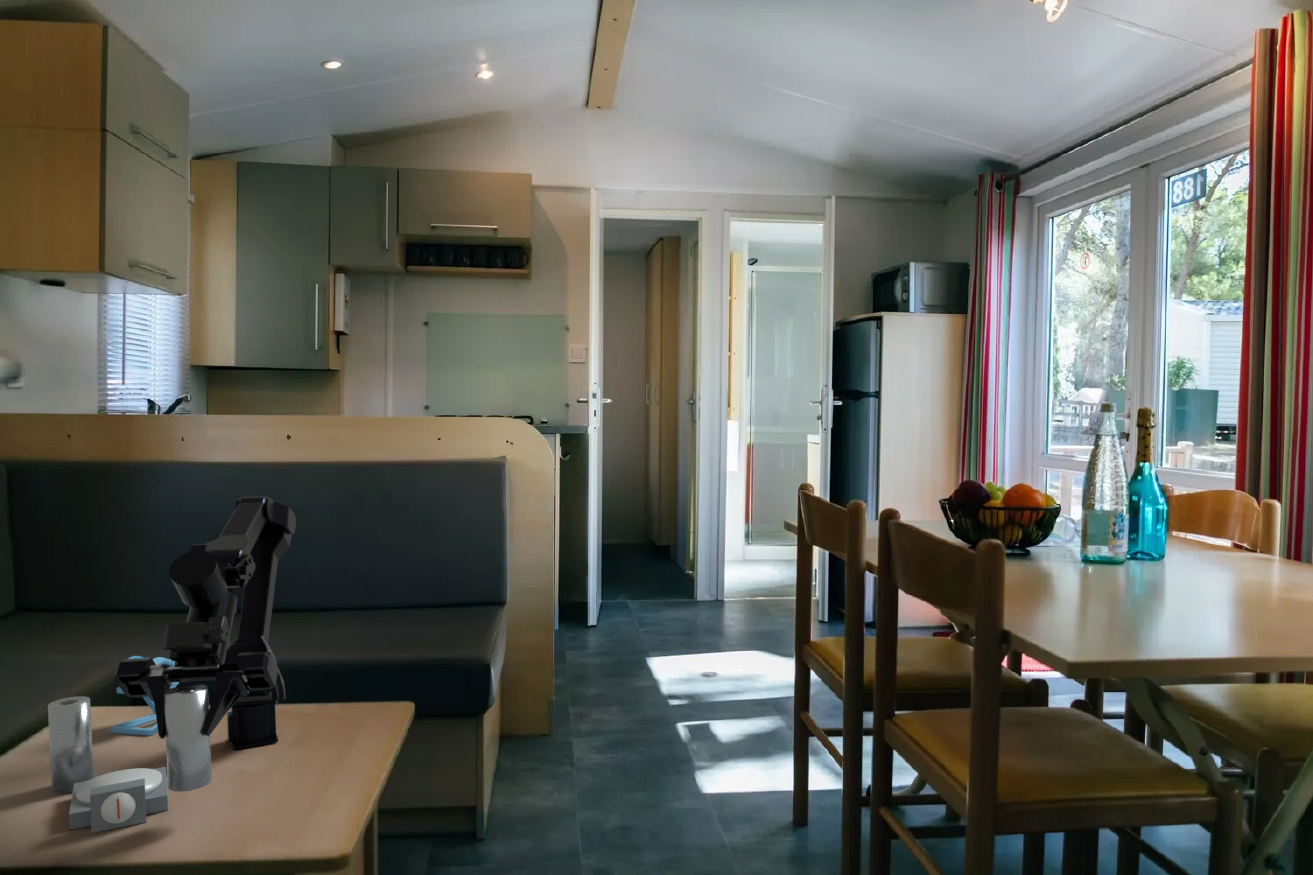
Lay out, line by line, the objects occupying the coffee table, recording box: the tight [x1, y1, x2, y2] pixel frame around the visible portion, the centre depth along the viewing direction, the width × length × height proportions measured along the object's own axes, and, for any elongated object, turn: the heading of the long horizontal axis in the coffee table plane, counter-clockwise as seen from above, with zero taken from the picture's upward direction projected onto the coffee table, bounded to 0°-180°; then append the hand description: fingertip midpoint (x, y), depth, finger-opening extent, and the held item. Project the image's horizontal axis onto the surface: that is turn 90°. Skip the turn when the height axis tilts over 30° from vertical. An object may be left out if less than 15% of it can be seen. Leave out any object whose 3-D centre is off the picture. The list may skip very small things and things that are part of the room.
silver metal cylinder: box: [164, 683, 213, 792], centre depth 120 cm, size 5×5×12 cm
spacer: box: [47, 695, 95, 795], centre depth 132 cm, size 5×5×12 cm
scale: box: [68, 766, 169, 834], centre depth 125 cm, size 11×14×5 cm
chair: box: [111, 655, 180, 737], centre depth 156 cm, size 8×8×12 cm
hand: (184, 735), depth 118 cm, fingers closed on silver metal cylinder, 5 cm apart
